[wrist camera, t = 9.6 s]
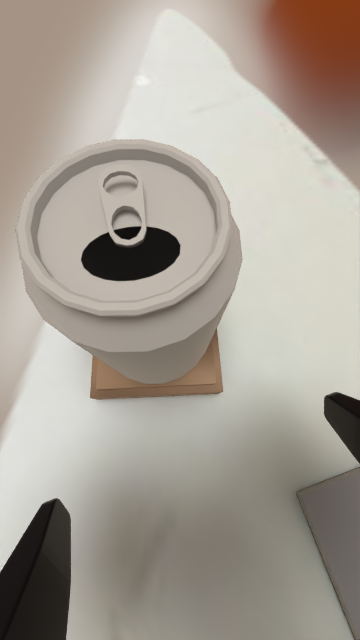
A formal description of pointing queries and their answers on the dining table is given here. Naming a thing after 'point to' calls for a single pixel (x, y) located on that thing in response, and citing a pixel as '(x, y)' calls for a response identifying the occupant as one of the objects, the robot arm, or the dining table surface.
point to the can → (131, 255)
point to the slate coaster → (338, 536)
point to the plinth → (192, 383)
